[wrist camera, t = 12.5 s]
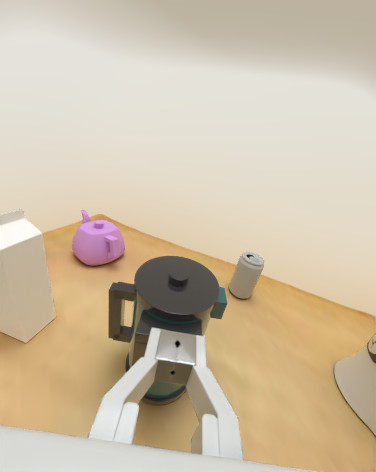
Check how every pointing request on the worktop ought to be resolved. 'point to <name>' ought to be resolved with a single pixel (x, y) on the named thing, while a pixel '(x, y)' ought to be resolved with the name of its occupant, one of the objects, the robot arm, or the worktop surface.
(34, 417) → the worktop surface
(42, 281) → the milk
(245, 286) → the beverage can
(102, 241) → the teapot
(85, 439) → the robot arm
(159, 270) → the jug
